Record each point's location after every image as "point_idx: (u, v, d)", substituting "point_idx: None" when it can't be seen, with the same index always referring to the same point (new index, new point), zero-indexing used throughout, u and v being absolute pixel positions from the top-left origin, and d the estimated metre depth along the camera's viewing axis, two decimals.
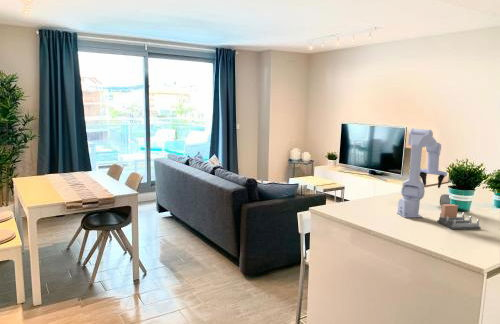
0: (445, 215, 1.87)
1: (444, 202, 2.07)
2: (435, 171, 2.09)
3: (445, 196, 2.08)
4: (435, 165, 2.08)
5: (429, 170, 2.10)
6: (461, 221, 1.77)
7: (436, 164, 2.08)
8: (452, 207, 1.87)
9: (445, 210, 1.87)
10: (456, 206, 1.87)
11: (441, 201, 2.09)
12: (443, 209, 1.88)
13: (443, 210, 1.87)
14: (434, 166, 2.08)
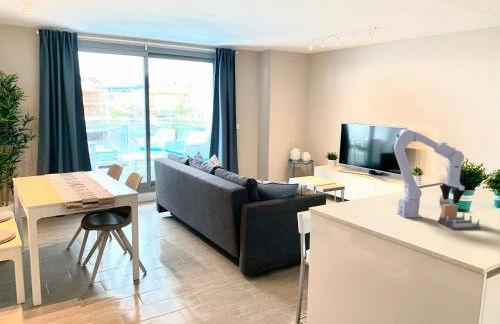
0: (445, 215, 1.87)
1: (444, 202, 2.07)
2: (451, 183, 1.84)
3: None
4: (452, 175, 1.84)
5: (446, 181, 1.87)
6: (461, 221, 1.77)
7: (453, 175, 1.83)
8: (452, 207, 1.87)
9: (445, 210, 1.87)
10: (456, 206, 1.87)
11: (441, 201, 2.08)
12: (443, 209, 1.88)
13: (443, 210, 1.87)
14: (451, 176, 1.84)
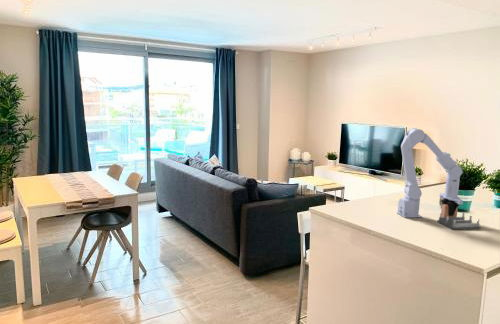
0: (445, 215, 1.87)
1: None
2: (450, 196, 1.85)
3: None
4: (450, 189, 1.85)
5: (445, 194, 1.88)
6: (461, 221, 1.77)
7: (452, 189, 1.84)
8: None
9: (445, 210, 1.87)
10: None
11: (441, 201, 2.08)
12: (443, 209, 1.88)
13: (443, 210, 1.87)
14: (449, 190, 1.85)
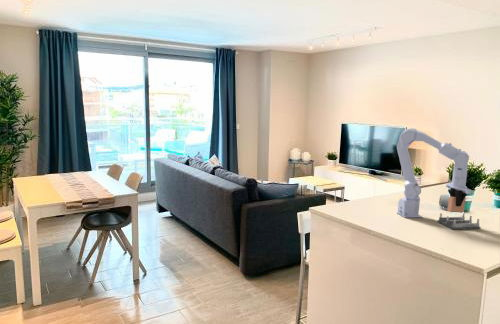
0: (452, 208, 1.78)
1: (443, 202, 2.07)
2: (457, 186, 1.76)
3: (444, 196, 2.07)
4: (458, 178, 1.76)
5: (452, 184, 1.79)
6: (461, 221, 1.77)
7: (459, 177, 1.75)
8: None
9: (452, 202, 1.78)
10: (464, 198, 1.79)
11: (440, 201, 2.08)
12: (450, 202, 1.79)
13: (450, 202, 1.79)
14: (456, 179, 1.76)
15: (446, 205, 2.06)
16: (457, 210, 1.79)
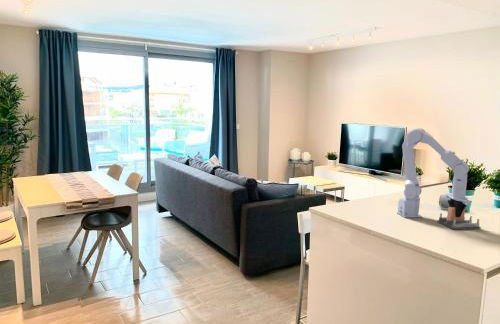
0: (452, 218, 1.78)
1: (443, 202, 2.06)
2: (457, 197, 1.76)
3: (444, 196, 2.07)
4: (457, 189, 1.75)
5: (451, 194, 1.79)
6: (461, 221, 1.77)
7: (459, 188, 1.75)
8: None
9: (452, 213, 1.78)
10: None
11: (440, 201, 2.07)
12: (449, 212, 1.79)
13: (450, 213, 1.78)
14: (456, 190, 1.76)
15: (446, 205, 2.06)
16: None
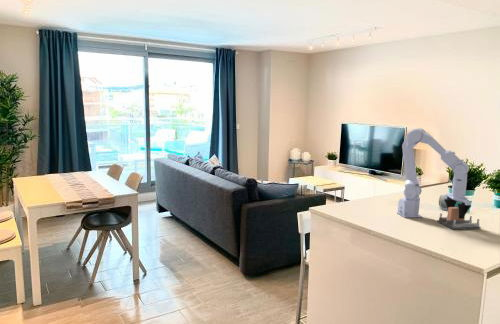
0: (452, 218, 1.78)
1: (443, 203, 2.06)
2: (457, 197, 1.76)
3: (444, 197, 2.07)
4: (457, 189, 1.75)
5: (451, 195, 1.79)
6: (461, 221, 1.77)
7: (459, 189, 1.75)
8: None
9: (452, 213, 1.78)
10: None
11: (440, 202, 2.07)
12: (449, 212, 1.79)
13: (450, 213, 1.78)
14: (456, 190, 1.76)
15: (446, 205, 2.06)
16: None
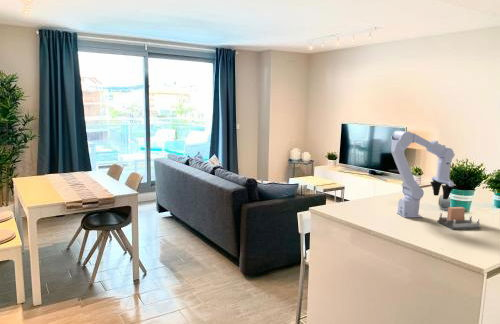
0: (452, 218, 1.78)
1: (443, 203, 2.06)
2: (441, 179, 1.90)
3: None
4: (442, 172, 1.89)
5: (436, 177, 1.92)
6: (461, 221, 1.77)
7: (443, 171, 1.89)
8: (459, 210, 1.78)
9: (452, 213, 1.78)
10: (463, 209, 1.78)
11: (440, 202, 2.07)
12: (449, 212, 1.79)
13: (450, 213, 1.78)
14: (440, 173, 1.90)
15: (445, 205, 2.05)
16: None
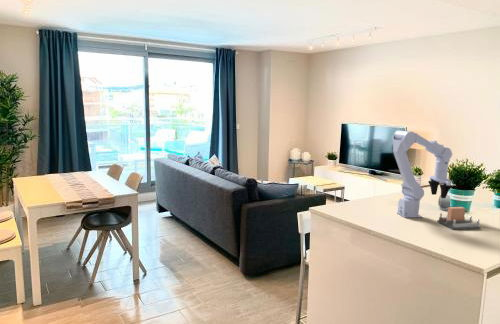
0: (452, 218, 1.78)
1: (443, 203, 2.06)
2: (439, 178, 1.92)
3: None
4: (439, 171, 1.91)
5: (434, 176, 1.94)
6: (461, 221, 1.77)
7: (441, 170, 1.91)
8: (459, 210, 1.78)
9: (452, 213, 1.78)
10: (463, 209, 1.78)
11: (440, 202, 2.07)
12: (449, 212, 1.79)
13: (450, 213, 1.78)
14: (438, 172, 1.92)
15: (445, 205, 2.05)
16: None
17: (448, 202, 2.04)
